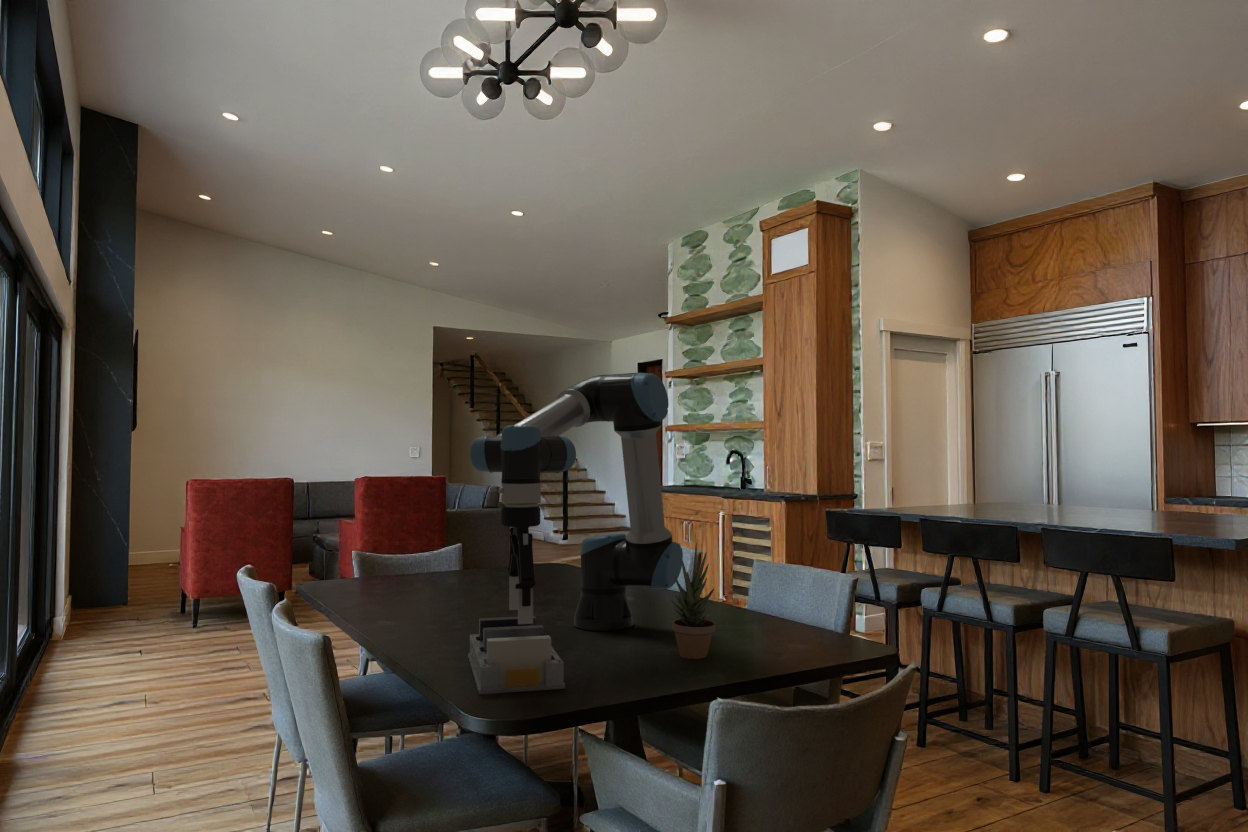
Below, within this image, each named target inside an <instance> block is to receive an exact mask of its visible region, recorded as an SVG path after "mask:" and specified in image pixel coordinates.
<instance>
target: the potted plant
mask: <svg viewBox="0 0 1248 832" xmlns="http://www.w3.org/2000/svg"><path fill="white" fill-rule="evenodd" d="M697 546H698V544H697V542H695V546H694V558H693V559H694V560H693V568H692V569H693V571H692V577H691V578H692V579H690V575H689V571H687V570H686V566H685V564H684V560H682V568H681V569H682V572H683V578H684V585H685V589H684V588H683V586H681V584H680V582H679V580H678V579H676V577H675V580H676V583H675V584H676V586H677V587H678V590H679V593H678V596H677V595H675V597H676V598H675V599H676V601H677V602H678V603H679V605H680V606H679V605H678V604H676V603H675V602H674V601H673V600H671V603H672V604H673V605H674V606H675V607H676V608H677V609H676V608H673V610H674V611H675V612H676V613H677V614H678V615H679V617H681V618H676V619H674V620H672V622H671V625H672V627H671V629H672V631H674V635H675V640H676V644H677V649H678V653H679V657H680V658H683V659H686V660H687V659H688V660H701V659H704V658H706V657H707V656H708V653H709V652H708V651H709V648H710V646H711V645H710V644H711V641H712V638H713V634H714V632H715V631H716V622H715V621H713V620H709V619H706V617H707V614H705V615H704V613H705V611H706V609H707V608H706V607H705V606H706V604H707V603H708V601H709V600H710V598H711V596H712V594H713V593H714V591H715V588H712V589H711V590H710V592H709V593H708V594H707V595H706V596H705V597H702V598H701V595H702V593H703V590H704V589H705V586H706V584H707V581H708V578H707V577H706V575H707V574H708V573H707V572H708V568H709V564H710V563H707V565H706V567H705V569H704V566H705V563H706V559H707V552H704V556H703V558H702V561H701V564H700V566H699V569H698V571H697V565H698V564H697V563H698V562H697V560H698V559H697V558H698V549H697V548H698V547H697ZM705 577H706V578H705ZM700 598H701V599H700ZM703 615H704V616H703Z"/></svg>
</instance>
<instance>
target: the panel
mask: <svg viewBox="0 0 1248 832" xmlns="http://www.w3.org/2000/svg"><path fill="white" fill-rule="evenodd" d="M551 646H552V637H551V636H550V635H549V634H548V635H544V636H527V637H508V638H489V639H487V664H494V663H497V665H498V684H506V670H512V669H528V668H539V681H544V669H545V660H551Z"/></svg>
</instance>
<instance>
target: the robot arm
mask: <svg viewBox="0 0 1248 832" xmlns="http://www.w3.org/2000/svg"><path fill="white" fill-rule="evenodd" d="M668 409H669V397H668V392H667V389H666V386H665V384H664V383H663V380H661V379H660V377H659V376H658V375H656V374H654V373H652V372H650V373H648V372H640V371H639V372H629V373H615V374H614V373H613V374H599V375H598V374H597V375H595V376H592V377H589V378H586V379H584V380H582V381H579V382H577V383H575V384H573V385H571V386H570V387H568V388H566V389H564V390H563V391H560V392H559V394H558V395H557V397H556V400H554V401H552V402H551V403H549V404H547V405H545V406H544V407H542V408H540V409H538V410H537V411H535V412H533V413H532V414H530V415H528V416H526V417H525V418H524V419H522V420H520V421H519V422H517V423H515V424H513V425H506V426H504V427H503V428H502V431H501V432H499V433H498V434H496V435H492V436H491V435H485V436H480V437H477V438H476V439H474V440H473V442H472V443H471V445H470V449H469V457H470V462H471V465H472V466H473V467H474V468H475V469H476V471H477V470H478V471H479V472H487V473H488V472H489V473H490V474H492V473H501V478H500V479H501V481H500V482H501V487H500V488H498V489H497V493H498V494H501V500H500V501H501V503H502V504H503V505H504V506H502V507H501V508H500V511H501V512H500V524H501V525H502V526H503V527H506V528H510V529H509V532H510V535H509V550H508V551H509V552H508V564H507V565H508V566H507V570H508V574H509V580H508V582H509V583H508V584H509V591H508V593H509V598H508V600H509V603H508V605H509V606H508V609H509V611H515V610H516V611H517V617H518V624H533V616H534V587H535V585H536V581H535V566H534V552H533V551H534V550H533V537H534V536H533V533H530V532H529V528H530V527H537V526H539V525H540V524H541V507H540V506H539V505H538V504H540V503H541V501H542V499H541V497H542V496H541V492H542V490H541V488H542V487H541V486H542V485H541V474H549V473H550V474H552V473H553V474H560V473H562V472H566V471H568V470H570V469H571V468H572V467H573V466H574V463H575V461H576V459H577V458H576V457H577V451H576V450H577V449H576V447H575V445H574V443H573V442H572V441H571V440H570V439H569V438H568V437H566V436H561V435H563V434H564V433H566V432H567V431H568V430H570V429H572V428H573V427H574V428H579V427H582V426H584V425H586V424H588V423H592V422H593V423H595V422H596V423H597V422H608V423H611V422H612V423H613V431H614V432H615V433H616V434H617V435H619V437H620V439H621V449H622V458H623V459H622V460H623V469H624V479H625V489H626V499H627V500H626V501H627V508H628V516H629V526H630V528H629V529H630V531H628V533H627V534H625V533H611V534H610V533H609V534H604V535H597V536H596V535H595V536H589V537H586V538H584V539H583V540H582V542H581V549H580V598H579V600H578V603H577V606H576V610H575V612H574V617H573V626H574V627H576V628H578V629H581V630H588V631H596V632H597V631H600V632H601V631H602V632H604V631H618V630H620V631H621V630H624V629H628V628H631V627H633V626H634V624H633V623H634V622H633V621H634V619H633V614H632V610H631V606H630V604H629V603H630V602H629V601H628V597H627V587H633V588H634V587H636V588H644V589H652V590H658V589H659V590H668V589H670V588H672V587H673V586H674V585H675V584H677V583H676V580H675V577H676V579H677V580H678V579H679V577H680V574H681V571H682V569H683V568H682V560H683V559H684V554H683V553H684V552H683V549H682V547H681V544H680V543H678V542H677V541H673V535H672V531H671V530H669V529H668V528H667V527H666V526H665V523H666V522H665V513H664V505H663V495H662V494H663V493H662V487H661V486H662V485H661V482H662V481H661V473H660V463H659V453H658V445H657V444H658V443H657V432H658V431H659V430H660V429H661V427H662V421H663V420H664V419H666V418H667V416H668V413H669V412H668V411H669V410H668ZM683 561H684V560H683Z"/></svg>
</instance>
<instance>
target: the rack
mask: <svg viewBox="0 0 1248 832" xmlns="http://www.w3.org/2000/svg"><path fill="white" fill-rule="evenodd" d="M537 620H538V618H537V617H536V616H535V615H533V624H518V616H502V617H484V618H483V617H481V618H478V634H475V633H473V634H472V633H469V652H467V653H468V654H467V656H468V660H469V664H470V668H471V671H472V675H473V678H474V682H475V685H476V689H477V692H478V695H490V694H491V695H492V694H504V693H519V692H533V691H534V692H535V691H548V690H549V691H550V690H562V689H566V683H565V682H564V672H565V671H564V661H563V660H562V659H561V657H560V656H559V655H558V653H557V652H556V651H555V649H554V648H553V646H552V645H551V660H545V669H544V681H539V668H528V669H512V670H506V684H498V665H497V663H494V664H487V639H489V638H508V637H527V636H545V635H544V634H545V626H543V625H542V624H537Z"/></svg>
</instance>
